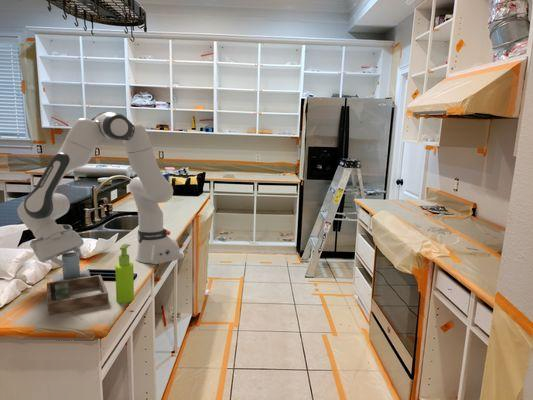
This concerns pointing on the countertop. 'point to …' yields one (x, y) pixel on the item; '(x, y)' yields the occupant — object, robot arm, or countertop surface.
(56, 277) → the board
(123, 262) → the soap dispenser
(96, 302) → the crate
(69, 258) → the cup
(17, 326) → the countertop surface
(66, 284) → the block
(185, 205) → the countertop surface
